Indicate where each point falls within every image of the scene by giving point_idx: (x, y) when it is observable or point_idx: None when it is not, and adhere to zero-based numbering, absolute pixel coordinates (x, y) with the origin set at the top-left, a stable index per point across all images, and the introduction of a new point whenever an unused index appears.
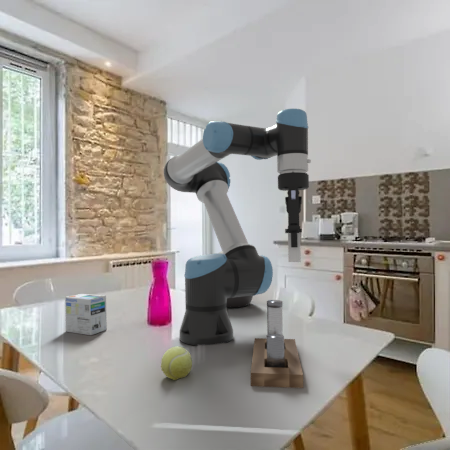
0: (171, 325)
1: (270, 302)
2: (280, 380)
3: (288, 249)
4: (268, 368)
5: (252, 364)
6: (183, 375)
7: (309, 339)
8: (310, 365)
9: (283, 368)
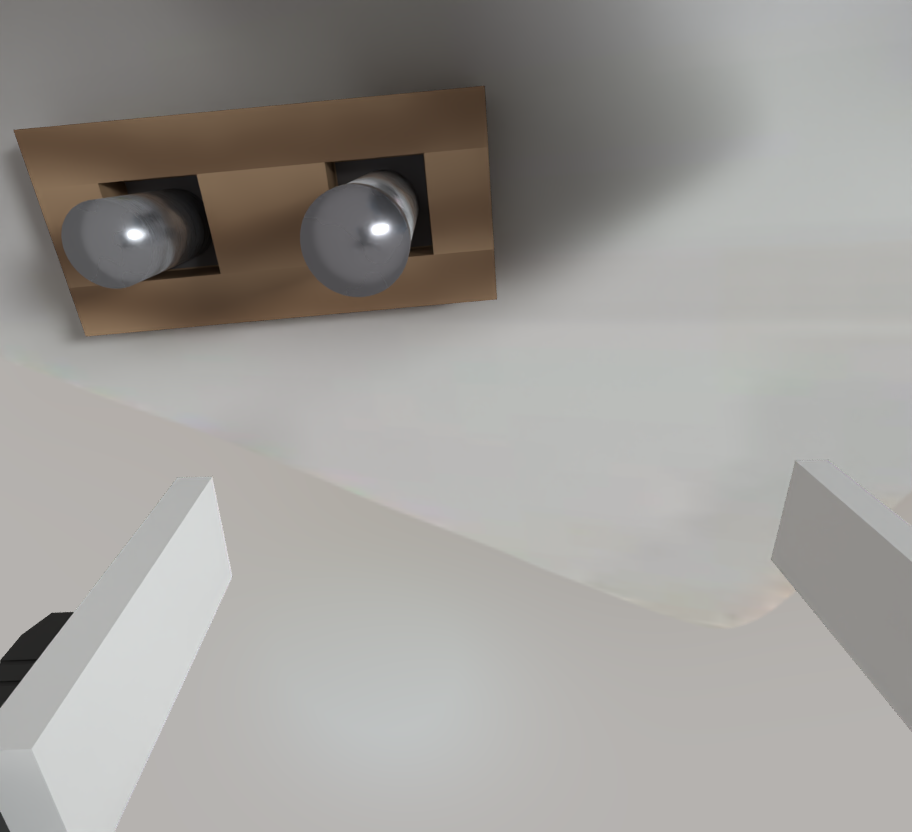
0: None
1: (314, 216)
2: None
3: (117, 561)
4: None
5: (106, 125)
6: None
7: (660, 348)
8: (343, 347)
9: None
